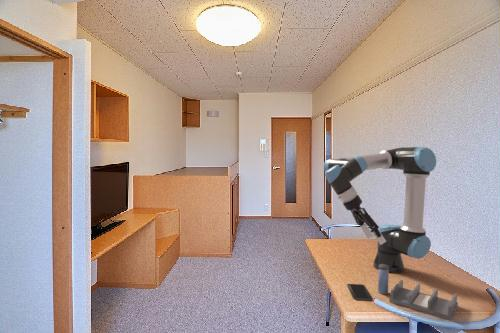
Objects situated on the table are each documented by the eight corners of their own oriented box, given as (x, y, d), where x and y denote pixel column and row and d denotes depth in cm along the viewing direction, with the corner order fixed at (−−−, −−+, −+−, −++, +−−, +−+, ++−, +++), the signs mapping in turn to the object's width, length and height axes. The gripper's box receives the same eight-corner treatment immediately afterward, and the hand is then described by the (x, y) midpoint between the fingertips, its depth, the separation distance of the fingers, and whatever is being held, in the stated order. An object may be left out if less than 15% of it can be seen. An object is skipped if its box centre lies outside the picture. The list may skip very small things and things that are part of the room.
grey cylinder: (379, 289, 144) (380, 263, 144) (389, 292, 142) (390, 265, 141) (376, 292, 141) (377, 265, 141) (386, 295, 138) (387, 268, 138)
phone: (354, 298, 134) (346, 283, 149) (354, 300, 134) (346, 285, 149) (373, 299, 133) (364, 284, 148) (373, 302, 133) (364, 286, 148)
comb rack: (399, 290, 144) (400, 279, 144) (457, 306, 130) (458, 293, 130) (389, 301, 132) (389, 290, 132) (451, 320, 118) (452, 307, 118)
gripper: (335, 201, 152) (359, 239, 151) (352, 205, 127) (381, 251, 127) (348, 192, 152) (372, 230, 152) (367, 195, 127) (397, 240, 127)
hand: (376, 240), depth 139 cm, fingers open, 13 cm apart
